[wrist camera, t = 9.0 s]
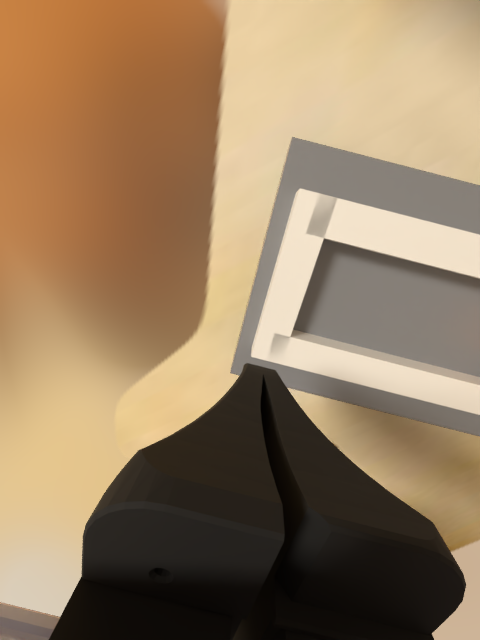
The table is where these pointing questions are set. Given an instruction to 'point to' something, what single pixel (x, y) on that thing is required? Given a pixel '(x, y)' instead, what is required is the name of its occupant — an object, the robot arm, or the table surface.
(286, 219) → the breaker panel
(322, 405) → the table surface
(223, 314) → the table surface
